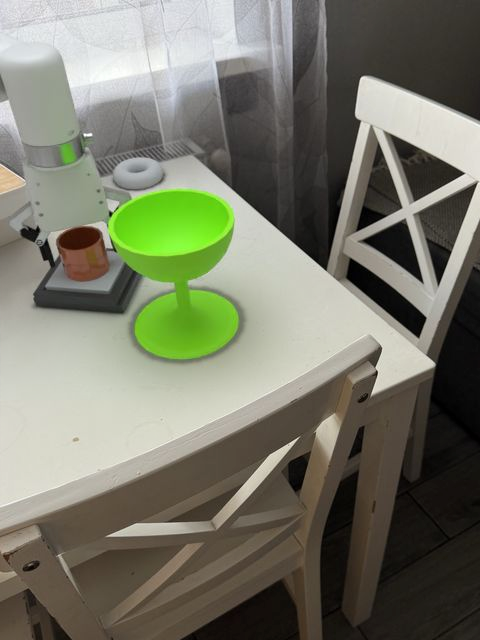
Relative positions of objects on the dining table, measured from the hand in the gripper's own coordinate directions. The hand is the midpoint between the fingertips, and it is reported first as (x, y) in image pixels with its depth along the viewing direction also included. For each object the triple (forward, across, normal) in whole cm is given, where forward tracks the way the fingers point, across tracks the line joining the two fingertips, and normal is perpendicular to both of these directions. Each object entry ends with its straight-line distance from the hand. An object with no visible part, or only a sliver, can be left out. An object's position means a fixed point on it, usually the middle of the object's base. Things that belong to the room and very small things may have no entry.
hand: (84, 255), depth 91 cm
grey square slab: (+4, 0, 0) cm, 4 cm away
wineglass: (+7, -11, +15) cm, 20 cm away
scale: (+6, 0, 0) cm, 7 cm away
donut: (+7, -15, -32) cm, 36 cm away
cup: (+2, 0, 0) cm, 2 cm away
